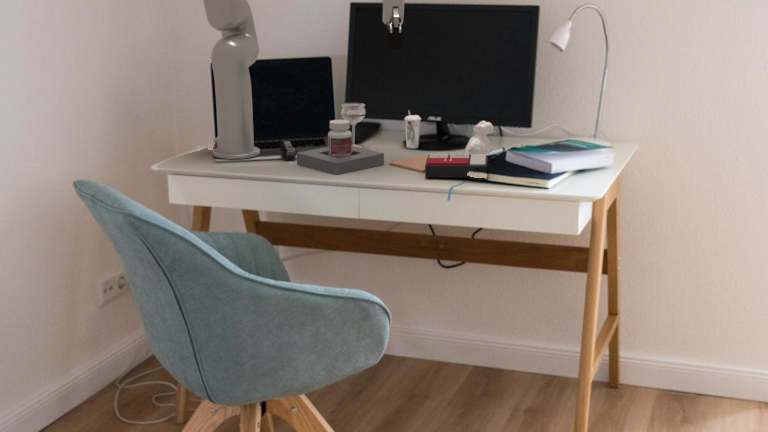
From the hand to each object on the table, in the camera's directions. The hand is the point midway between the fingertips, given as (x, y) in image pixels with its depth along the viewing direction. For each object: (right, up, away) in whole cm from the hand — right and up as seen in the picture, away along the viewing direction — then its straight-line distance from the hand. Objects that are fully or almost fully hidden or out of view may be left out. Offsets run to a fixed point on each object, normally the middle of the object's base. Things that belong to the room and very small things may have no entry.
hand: (394, 46), depth 247 cm
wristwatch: (-28, -28, +9) cm, 41 cm away
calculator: (+15, -33, -7) cm, 37 cm away
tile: (+7, -30, +3) cm, 31 cm away
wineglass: (-11, -24, +23) cm, 35 cm away
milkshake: (+5, -24, +23) cm, 34 cm away
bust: (+22, -28, +10) cm, 37 cm away
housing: (-14, -30, +3) cm, 33 cm away
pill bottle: (-14, -30, +3) cm, 33 cm away
